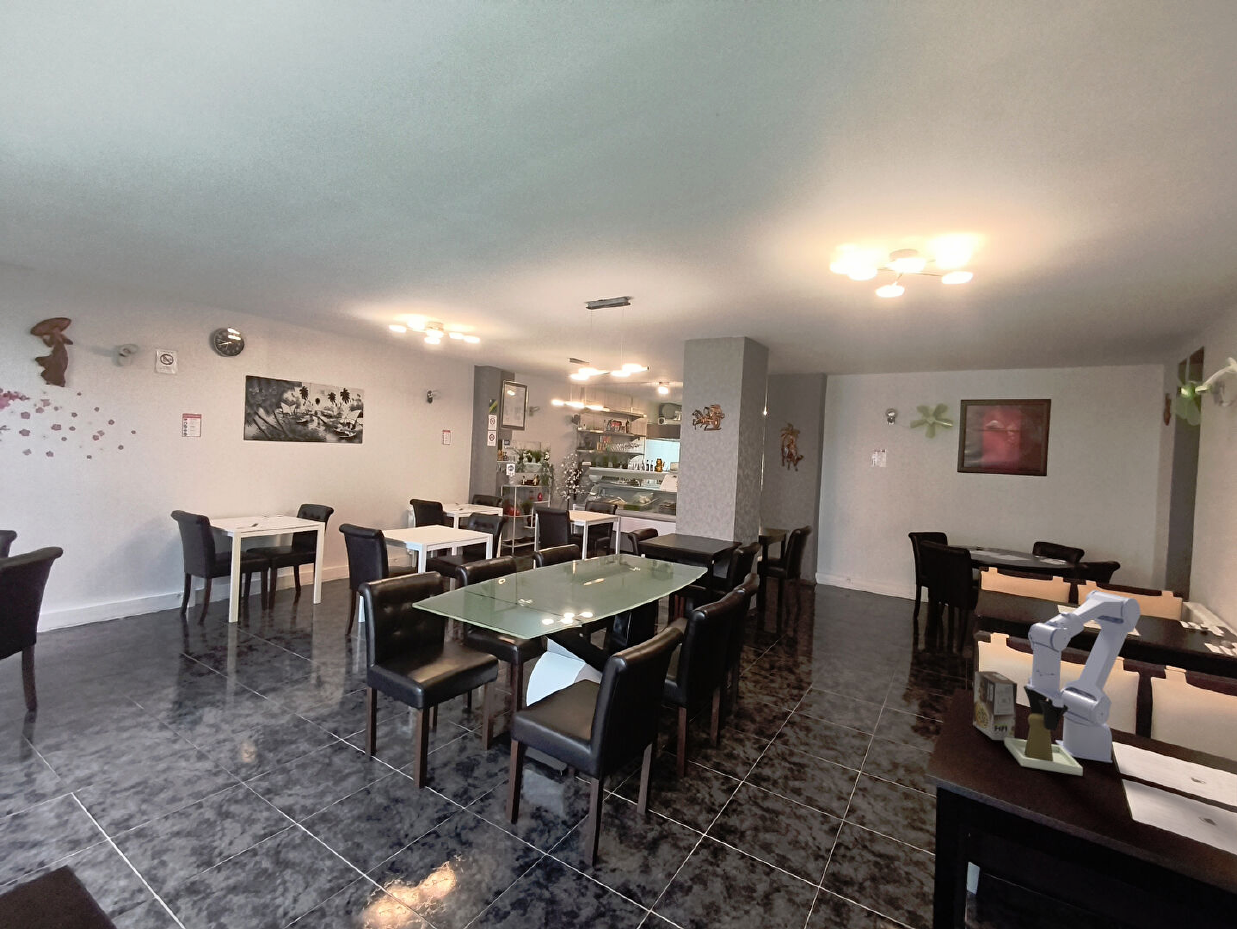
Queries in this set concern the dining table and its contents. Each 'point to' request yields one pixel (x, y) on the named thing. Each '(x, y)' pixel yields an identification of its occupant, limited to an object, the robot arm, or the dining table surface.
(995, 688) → the coffee box
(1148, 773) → the dining table surface
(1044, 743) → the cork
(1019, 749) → the tray
